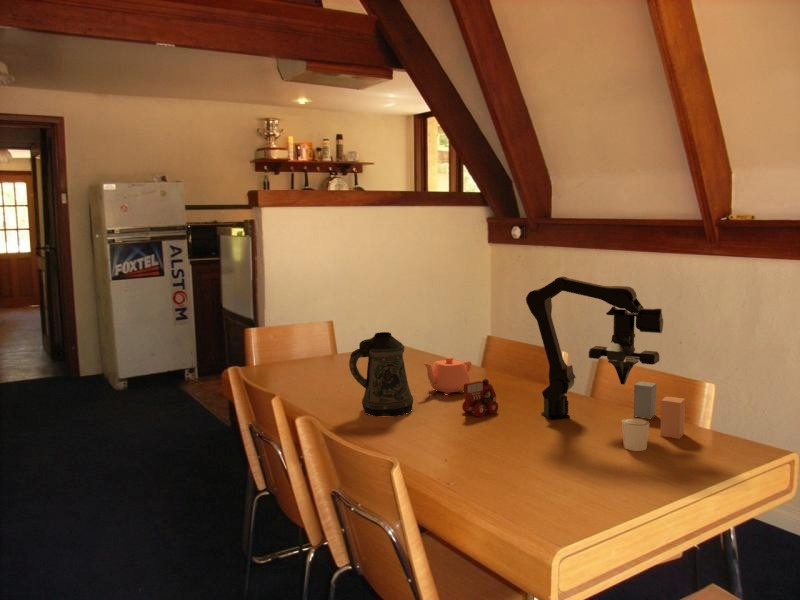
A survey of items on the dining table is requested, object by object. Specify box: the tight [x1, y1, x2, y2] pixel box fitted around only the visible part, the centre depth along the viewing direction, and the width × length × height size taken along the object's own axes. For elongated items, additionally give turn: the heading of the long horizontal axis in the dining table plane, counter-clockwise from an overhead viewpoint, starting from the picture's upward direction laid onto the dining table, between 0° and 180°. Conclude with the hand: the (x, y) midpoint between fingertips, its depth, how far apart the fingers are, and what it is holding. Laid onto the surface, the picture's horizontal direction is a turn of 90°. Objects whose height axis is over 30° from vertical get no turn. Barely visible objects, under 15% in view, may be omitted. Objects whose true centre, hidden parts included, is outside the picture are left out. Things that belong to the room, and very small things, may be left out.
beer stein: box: [348, 331, 414, 417], centre depth 215 cm, size 16×19×25 cm
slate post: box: [633, 380, 657, 419], centre depth 205 cm, size 5×5×10 cm
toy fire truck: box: [461, 378, 499, 418], centre depth 212 cm, size 7×12×10 cm, turn 124°
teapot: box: [422, 356, 472, 395], centre depth 239 cm, size 13×20×12 cm, turn 118°
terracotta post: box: [659, 396, 686, 440], centre depth 187 cm, size 5×5×10 cm
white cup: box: [621, 417, 651, 452], centre depth 178 cm, size 7×7×7 cm
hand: (622, 384), depth 196 cm, fingers closed
